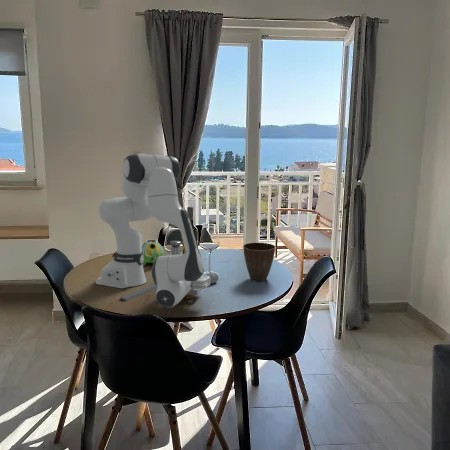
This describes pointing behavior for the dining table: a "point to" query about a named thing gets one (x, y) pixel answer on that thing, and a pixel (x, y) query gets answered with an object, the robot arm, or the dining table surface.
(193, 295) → the wedge pin
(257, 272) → the plant pot
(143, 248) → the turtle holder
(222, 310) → the dining table surface
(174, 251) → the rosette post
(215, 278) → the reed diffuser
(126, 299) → the gray half cylinder
